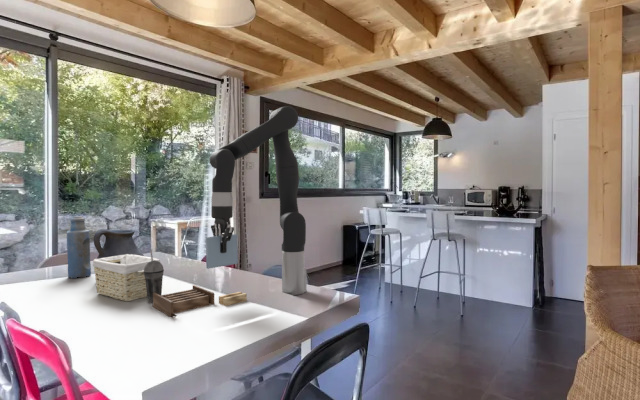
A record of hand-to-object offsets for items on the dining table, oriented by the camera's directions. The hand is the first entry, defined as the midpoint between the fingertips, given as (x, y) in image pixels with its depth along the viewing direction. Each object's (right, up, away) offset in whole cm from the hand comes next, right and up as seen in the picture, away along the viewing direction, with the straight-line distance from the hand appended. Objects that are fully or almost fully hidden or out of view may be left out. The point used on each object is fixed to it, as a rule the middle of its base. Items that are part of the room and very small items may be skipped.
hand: (222, 252), depth 136 cm
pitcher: (-60, -19, +43) cm, 76 cm away
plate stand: (+4, -20, +2) cm, 20 cm away
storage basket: (-43, -20, +17) cm, 51 cm away
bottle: (-85, -19, +51) cm, 101 cm away
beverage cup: (-28, -20, +7) cm, 35 cm away
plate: (0, -5, 0) cm, 5 cm away
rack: (-14, -20, 0) cm, 24 cm away
